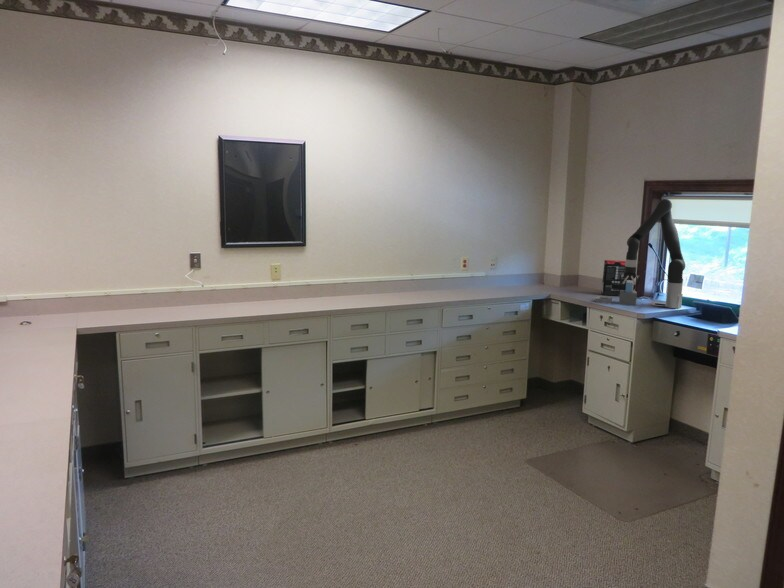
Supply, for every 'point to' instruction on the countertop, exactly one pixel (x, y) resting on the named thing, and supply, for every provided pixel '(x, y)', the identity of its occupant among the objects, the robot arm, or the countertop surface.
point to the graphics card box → (613, 277)
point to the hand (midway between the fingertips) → (628, 289)
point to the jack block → (621, 298)
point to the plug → (628, 287)
